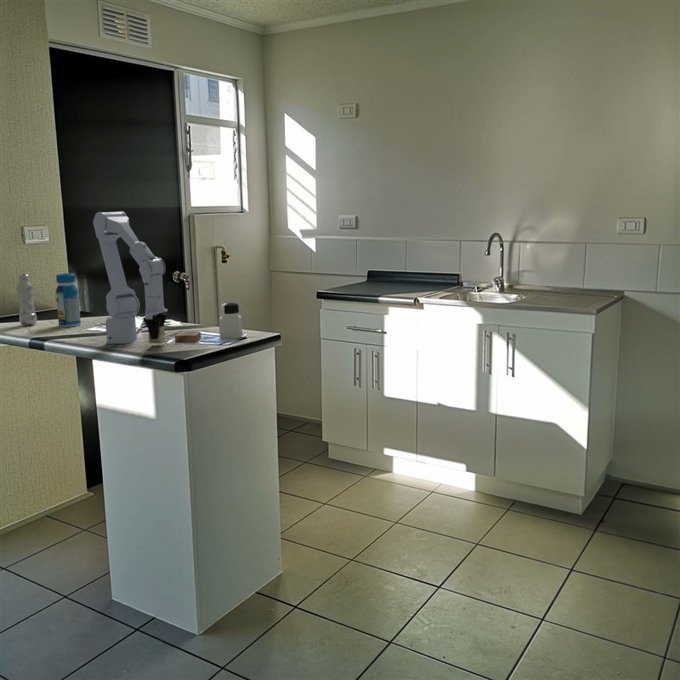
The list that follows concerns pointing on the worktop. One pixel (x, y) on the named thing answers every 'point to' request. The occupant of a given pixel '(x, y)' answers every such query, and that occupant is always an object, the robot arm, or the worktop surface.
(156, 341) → the maple block
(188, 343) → the mat
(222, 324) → the medicine bottle
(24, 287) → the plastic bottle
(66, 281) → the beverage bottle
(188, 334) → the walnut slab
